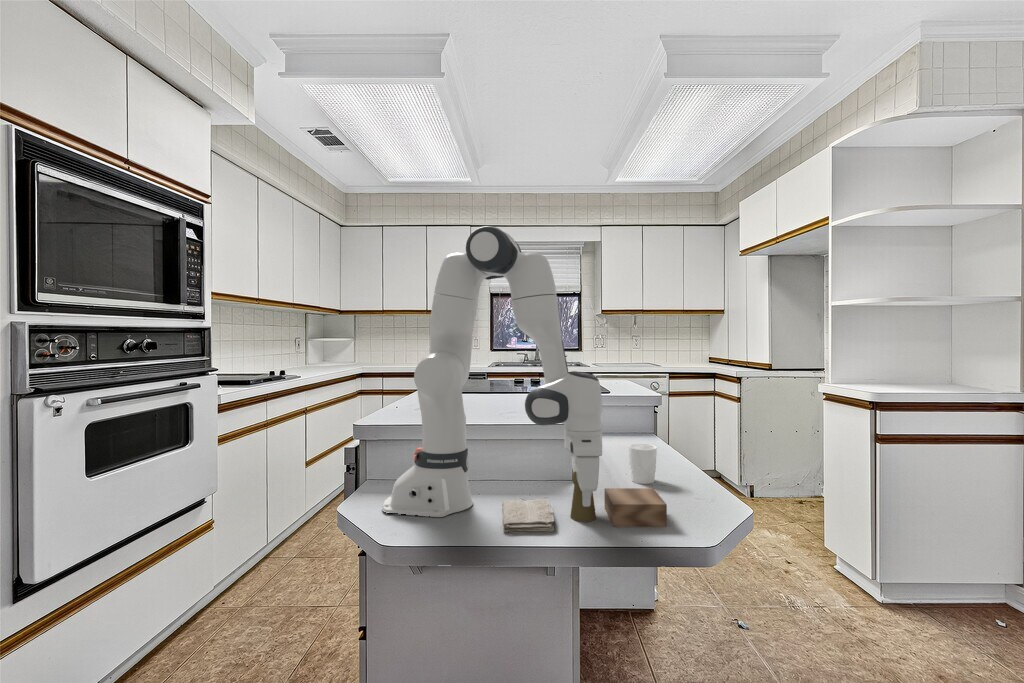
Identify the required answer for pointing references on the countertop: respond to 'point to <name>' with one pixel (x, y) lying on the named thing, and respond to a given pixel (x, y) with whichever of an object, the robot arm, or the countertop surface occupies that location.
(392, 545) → the countertop surface
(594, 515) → the olive tapered upright piece
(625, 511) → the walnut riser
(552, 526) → the washcloth
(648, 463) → the white cup
